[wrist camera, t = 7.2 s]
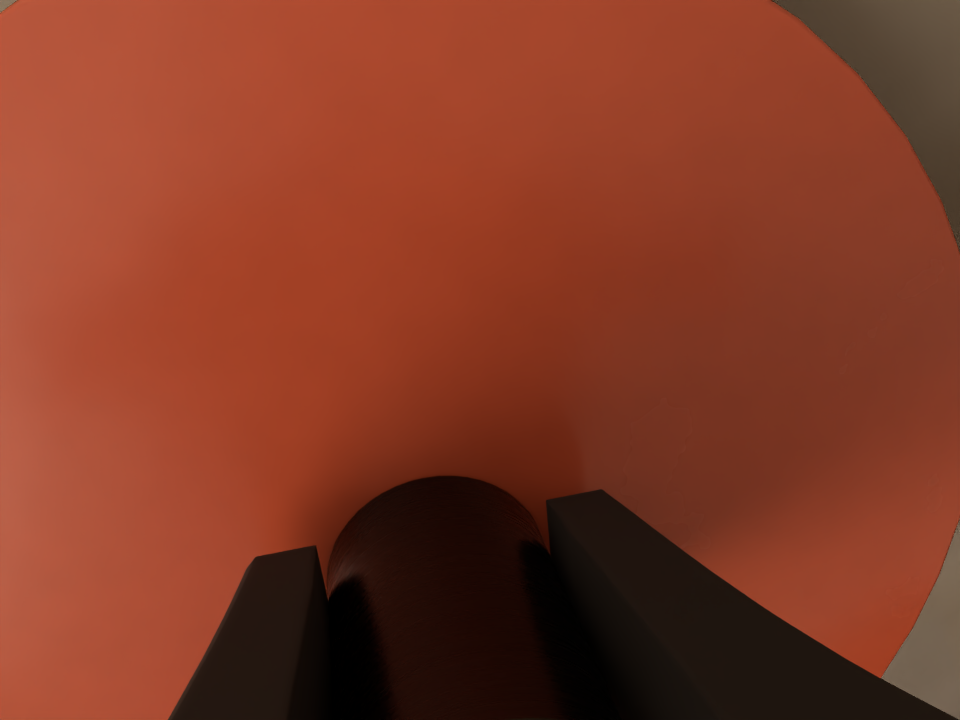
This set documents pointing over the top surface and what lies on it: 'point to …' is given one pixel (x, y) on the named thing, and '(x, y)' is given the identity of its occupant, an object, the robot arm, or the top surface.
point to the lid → (452, 336)
